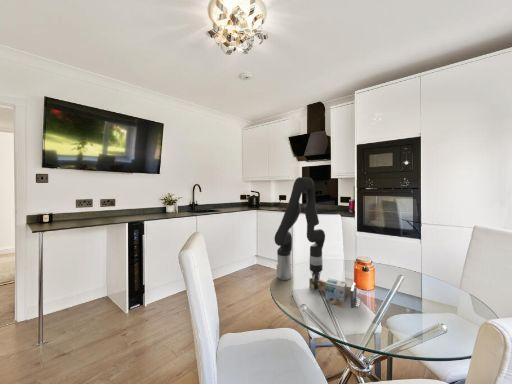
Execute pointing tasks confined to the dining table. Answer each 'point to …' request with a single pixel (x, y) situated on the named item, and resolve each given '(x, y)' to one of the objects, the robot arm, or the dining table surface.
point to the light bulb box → (335, 290)
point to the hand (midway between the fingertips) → (316, 289)
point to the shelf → (323, 287)
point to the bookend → (354, 301)
